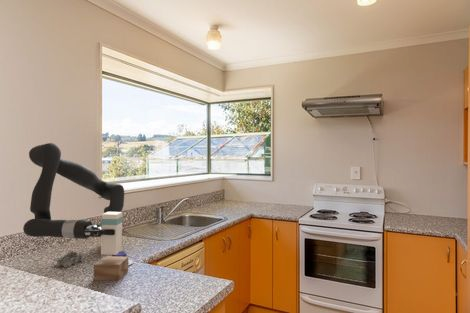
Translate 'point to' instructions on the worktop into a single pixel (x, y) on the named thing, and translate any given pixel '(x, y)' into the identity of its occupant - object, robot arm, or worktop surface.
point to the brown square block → (110, 268)
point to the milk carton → (112, 242)
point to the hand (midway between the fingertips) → (117, 230)
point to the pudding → (123, 254)
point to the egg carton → (69, 259)
